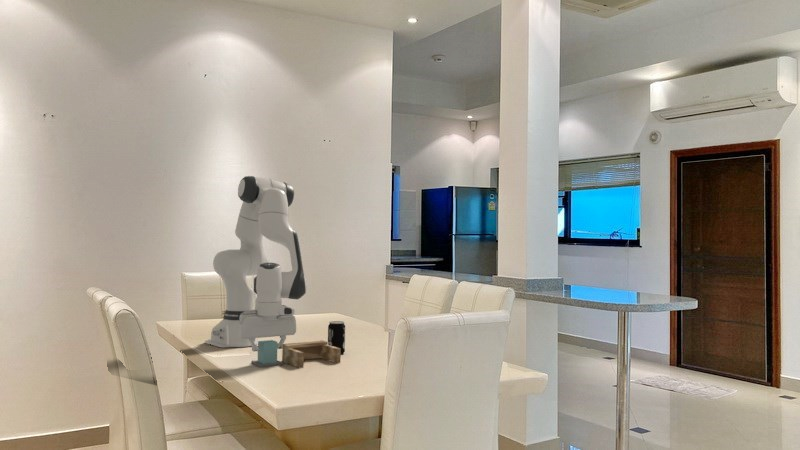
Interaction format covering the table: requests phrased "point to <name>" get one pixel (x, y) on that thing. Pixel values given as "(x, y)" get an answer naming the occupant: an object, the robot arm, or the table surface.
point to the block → (267, 351)
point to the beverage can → (337, 335)
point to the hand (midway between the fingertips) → (267, 349)
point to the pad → (266, 363)
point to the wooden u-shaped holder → (309, 352)
